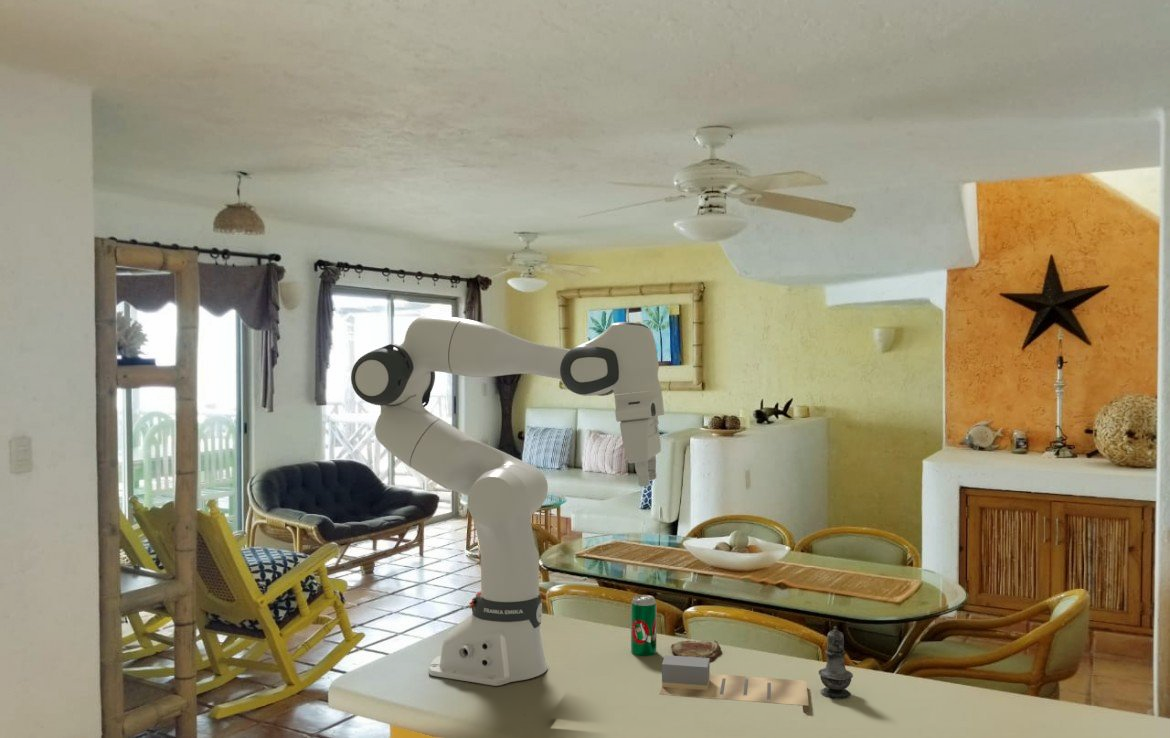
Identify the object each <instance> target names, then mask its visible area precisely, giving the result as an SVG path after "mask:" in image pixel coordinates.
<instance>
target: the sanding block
mask: <svg viewBox="0 0 1170 738" xmlns="http://www.w3.org/2000/svg"><path fill="white" fill-rule="evenodd" d="M710 664H711V663H710V658H699V657H684V656H677V655H670V654H669V655H667V654H666V655H664V658H663V660H662V663H661V688H662V687H670V688H683V689H697V690H708V686H709V681H710V674H711V673H710V672H711V671H710V669H711V668H710V667H711V666H710Z"/></svg>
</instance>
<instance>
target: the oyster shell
mask: <svg viewBox="0 0 1170 738" xmlns="http://www.w3.org/2000/svg"><path fill="white" fill-rule="evenodd" d="M696 641H697V640H681V641H678V642H675V643H671V645H670V650H671V651H672V653H673V654H674V655H675V656H684V657H699V658H710V662H711V663H712V662H713V661H715V660H716V658H717V657H719V656H720V654H721V653H722V648H721V646H720V645H719V642H718V640H715V639H714V640H713V641H706V640H705V641H704V640H701V641H698V642H696Z"/></svg>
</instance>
